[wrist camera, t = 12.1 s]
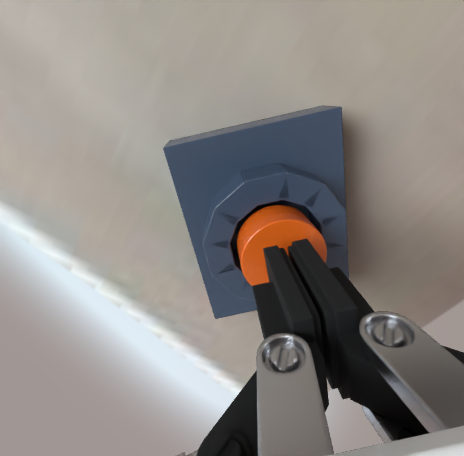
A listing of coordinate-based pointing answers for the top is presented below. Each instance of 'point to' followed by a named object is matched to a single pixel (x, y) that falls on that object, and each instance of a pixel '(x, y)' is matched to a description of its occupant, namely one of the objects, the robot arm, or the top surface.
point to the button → (273, 238)
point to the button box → (259, 191)
